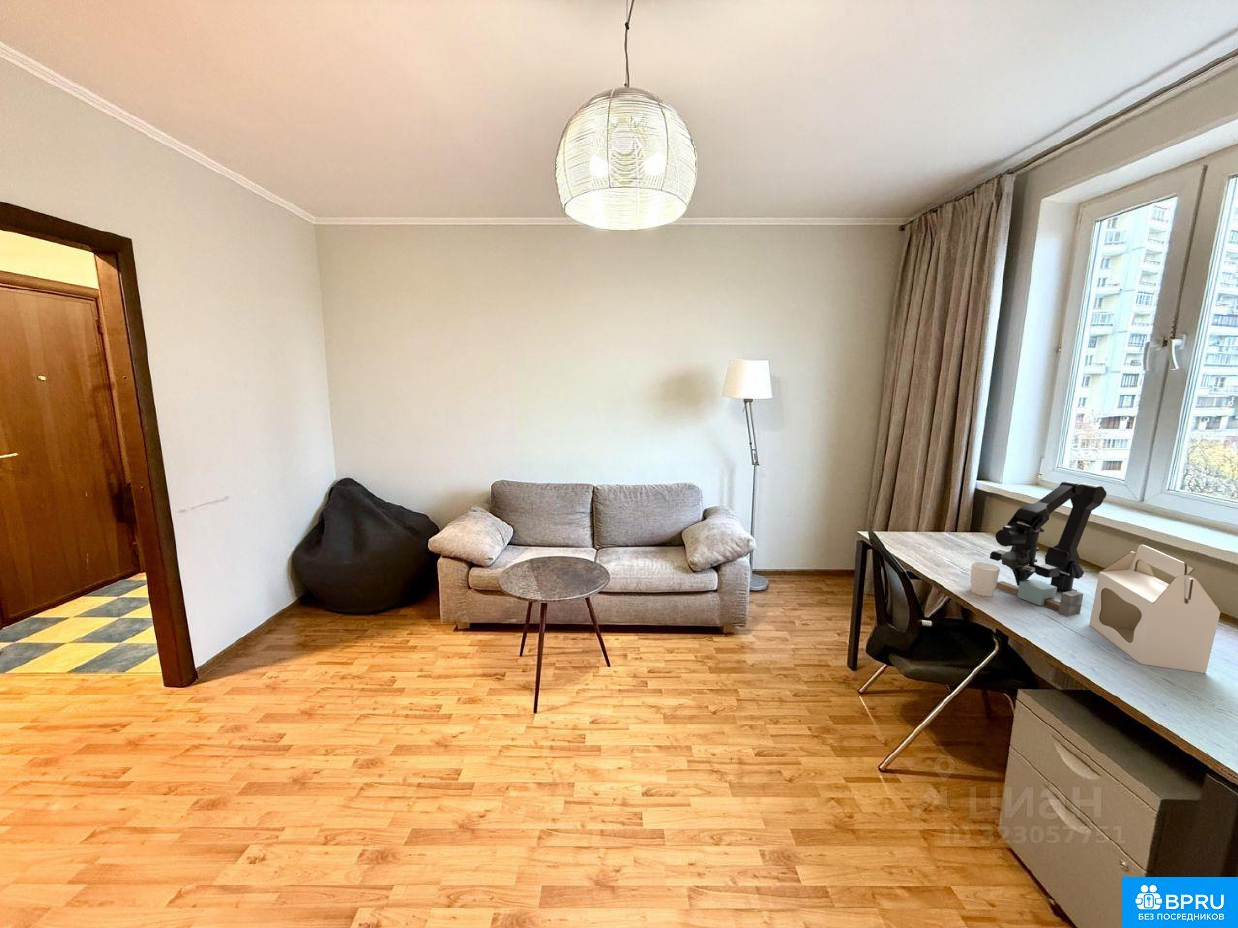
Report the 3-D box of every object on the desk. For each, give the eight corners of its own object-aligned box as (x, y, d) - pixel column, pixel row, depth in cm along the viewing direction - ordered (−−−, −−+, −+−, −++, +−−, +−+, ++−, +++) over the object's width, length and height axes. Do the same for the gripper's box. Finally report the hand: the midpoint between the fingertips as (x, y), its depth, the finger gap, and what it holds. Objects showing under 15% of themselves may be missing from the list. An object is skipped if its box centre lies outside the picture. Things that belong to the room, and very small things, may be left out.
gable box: (1207, 674, 120) (1232, 571, 115) (1140, 664, 124) (1161, 564, 119) (1143, 631, 140) (1162, 542, 136) (1088, 624, 145) (1104, 538, 140)
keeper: (1030, 594, 165) (1033, 578, 164) (1054, 602, 158) (1057, 587, 157) (1017, 596, 162) (1019, 581, 161) (1040, 605, 156) (1043, 589, 155)
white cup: (1000, 598, 162) (1005, 571, 160) (975, 596, 163) (979, 569, 162) (988, 588, 170) (992, 562, 168) (963, 586, 171) (967, 560, 169)
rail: (1004, 585, 172) (1007, 567, 171) (1079, 613, 151) (1083, 593, 150) (993, 587, 170) (995, 569, 169) (1067, 616, 149) (1071, 596, 148)
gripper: (981, 537, 169) (976, 578, 171) (1041, 555, 151) (1033, 600, 154) (1003, 534, 172) (997, 574, 175) (1064, 552, 154) (1056, 596, 157)
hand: (1019, 586), depth 165 cm, fingers closed
